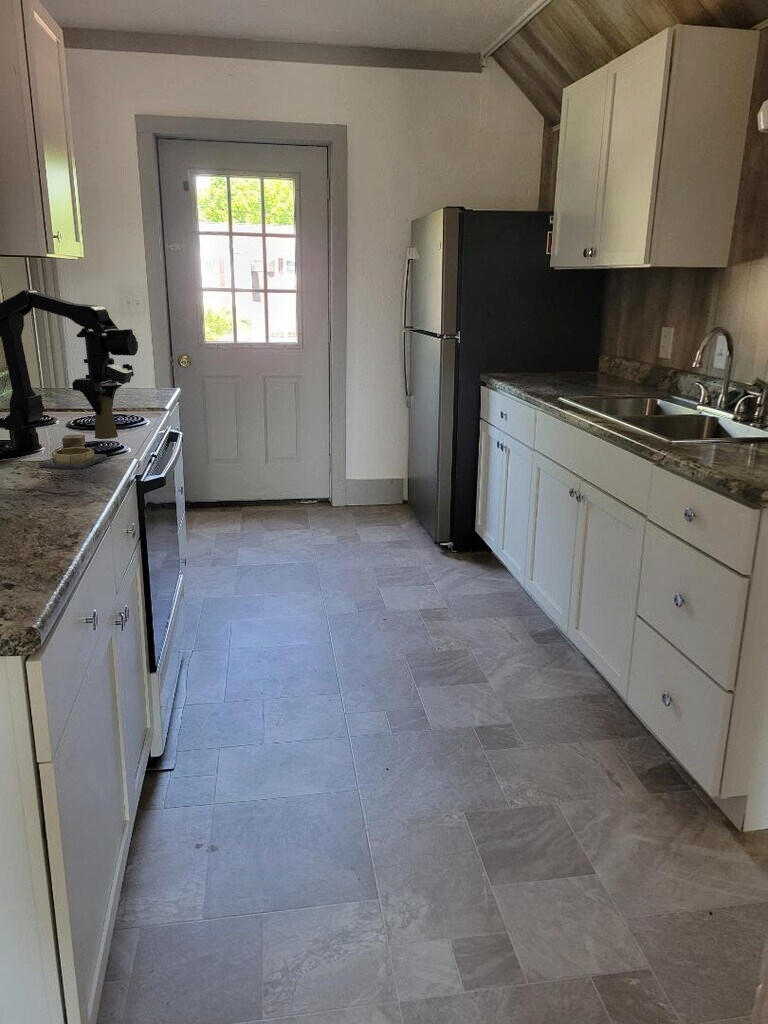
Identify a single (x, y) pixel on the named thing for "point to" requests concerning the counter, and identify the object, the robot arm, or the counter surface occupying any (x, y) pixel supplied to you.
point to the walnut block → (73, 441)
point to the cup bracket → (73, 458)
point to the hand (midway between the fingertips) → (104, 413)
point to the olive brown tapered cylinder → (105, 420)
